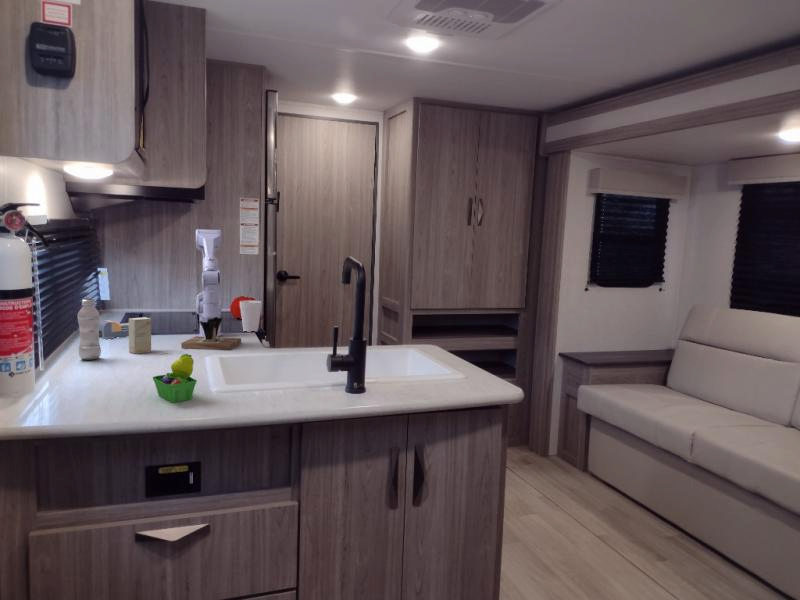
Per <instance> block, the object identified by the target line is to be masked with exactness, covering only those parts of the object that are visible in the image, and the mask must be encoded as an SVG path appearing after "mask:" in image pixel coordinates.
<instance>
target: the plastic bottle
mask: <svg viewBox="0 0 800 600" xmlns="http://www.w3.org/2000/svg"><path fill="white" fill-rule="evenodd" d="M95 301H96V300H95V298H82V299H81V306H82V307H81V308H80V310H79V311H78V313H77V316H76V317H77V322H78V328H79V347H78V351H77V352H78V357H79V358H80V359H81V360H88V361H91V360H96V359H100V357H101V354H102V348H101V345H100V338H99V336H98V327H99V322H100V317H101V316H100V312H99V311H98V309H97V308H96V307H95V305H96V303H95Z"/></svg>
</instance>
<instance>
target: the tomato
mask: <svg viewBox="0 0 800 600" xmlns="http://www.w3.org/2000/svg"><path fill="white" fill-rule="evenodd" d="M240 301H257V300H256V298H254V297H251V296H249V297H248V296H244V295H241V296H238V297H235V298H234V299H233V300H232V301H231V303H230V307H229V311H230V314H231V316H233V318H234V319H237V318H241V319H242V317H241V309H240ZM241 319H240V320H241Z"/></svg>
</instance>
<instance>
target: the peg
mask: <svg viewBox="0 0 800 600" xmlns="http://www.w3.org/2000/svg"><path fill="white" fill-rule="evenodd" d="M205 342H216V328H214V330H213V337H212V339H211V340H210V339H206V337H205Z"/></svg>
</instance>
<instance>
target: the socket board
mask: <svg viewBox="0 0 800 600" xmlns="http://www.w3.org/2000/svg"><path fill="white" fill-rule="evenodd" d="M241 344H242V338H241V337H223V336H220V337H219V336H218V337H216V342H205V337H201V336H198V335H196V336H193V337H191V338H188V339H187V340H185V341H183V342H181V347H180V348H181V349H186V350H187V349H188V350H189V349H190V350H192V349H193V350H213V351H216V350H217V351H231V350H233V349H234V348H236V347H238V346H239V345H241Z"/></svg>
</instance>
